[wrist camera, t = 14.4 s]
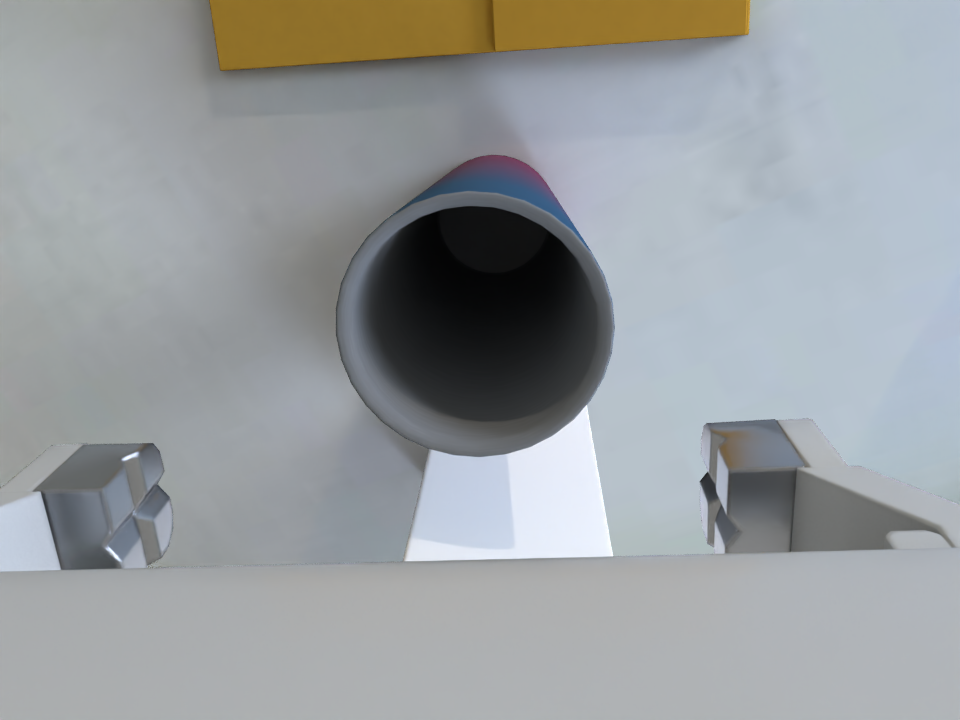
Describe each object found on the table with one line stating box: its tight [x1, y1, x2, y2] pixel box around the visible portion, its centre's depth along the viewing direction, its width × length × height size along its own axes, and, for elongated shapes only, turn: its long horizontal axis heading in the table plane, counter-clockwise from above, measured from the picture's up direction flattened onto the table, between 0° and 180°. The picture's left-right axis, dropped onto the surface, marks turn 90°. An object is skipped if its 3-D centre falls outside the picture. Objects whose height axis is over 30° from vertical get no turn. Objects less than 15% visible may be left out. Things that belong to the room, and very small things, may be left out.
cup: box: [336, 155, 615, 457], centre depth 28 cm, size 7×7×15 cm
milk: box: [403, 405, 613, 561], centre depth 28 cm, size 6×6×22 cm
